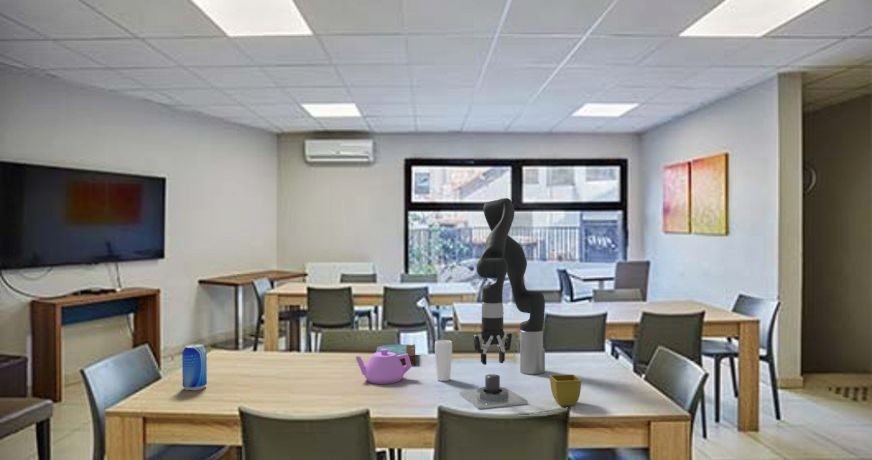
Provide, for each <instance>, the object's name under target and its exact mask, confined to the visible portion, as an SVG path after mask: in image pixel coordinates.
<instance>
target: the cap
mask: <svg viewBox="0 0 872 460" xmlns="http://www.w3.org/2000/svg"><path fill="white" fill-rule="evenodd" d="M484 379H485V380H484V383H485V385H484V387H485V392H487V393H500V387H501V376H500V375H499V374H495V373H494V374H486V375H485V376H484Z"/></svg>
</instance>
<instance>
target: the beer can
mask: <svg viewBox="0 0 872 460" xmlns="http://www.w3.org/2000/svg"><path fill="white" fill-rule="evenodd" d="M181 353H182V356H181V358H182V359H181V360H182V367H181V368H182V387H183V388H184V390H185V391H188V390H194V391H199V390H202V389H205V388H206V386H207V383H208V380H207V379H208V378H207V375H208V374H207V373H208V372H207V371H208V369H207V349H206V348H205V347H204V344H203V343H192V344H190V343H189V344H186V345H185V346H184V348H183V351H182V352H181Z"/></svg>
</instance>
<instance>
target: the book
mask: <svg viewBox="0 0 872 460" xmlns="http://www.w3.org/2000/svg"><path fill="white" fill-rule="evenodd" d="M381 349H388V352H393V353H395V354H396V355H401V354H406V353H408V356H409V359H410V362H411V364H412V366H415V365H416V344H378V345H377V347H376V351H375V353H377V352H380V350H381ZM400 361H401V363H402V365H403V366H405V365H406V361H405V358H402V359H400Z"/></svg>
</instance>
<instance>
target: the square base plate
mask: <svg viewBox="0 0 872 460" xmlns="http://www.w3.org/2000/svg"><path fill="white" fill-rule="evenodd" d="M459 395H460V396H461V397H463V398H464V399H465V400H466V401H467V402H468V403H470V404H471V405H472V404H473V405H472V406H473V407H474V408H476V409H477V408H478V409H477V410H483V409H485V410H486V409H491V408H492V409H493V408H502V407H503V408H504V407H511V406H519V405H528V403H529V401H528V400H527V399H526V398H523V396H520V394H517V393H516V392H515V391H512V390H511V389H509V388H508V387H506V386H504V387H502V386H500V393H487V392H485V386H482V387H478V388H477V389H475V390H474V389H473V390H464V391H459Z"/></svg>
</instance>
